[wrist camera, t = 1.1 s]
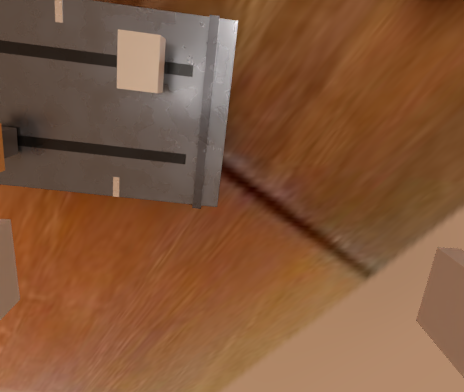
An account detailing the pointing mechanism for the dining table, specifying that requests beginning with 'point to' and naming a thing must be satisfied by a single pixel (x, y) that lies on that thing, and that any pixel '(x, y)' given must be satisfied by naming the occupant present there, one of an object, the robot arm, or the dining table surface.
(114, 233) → the dining table surface
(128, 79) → the block
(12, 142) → the orange fader
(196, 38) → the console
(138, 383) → the dining table surface
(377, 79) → the dining table surface
